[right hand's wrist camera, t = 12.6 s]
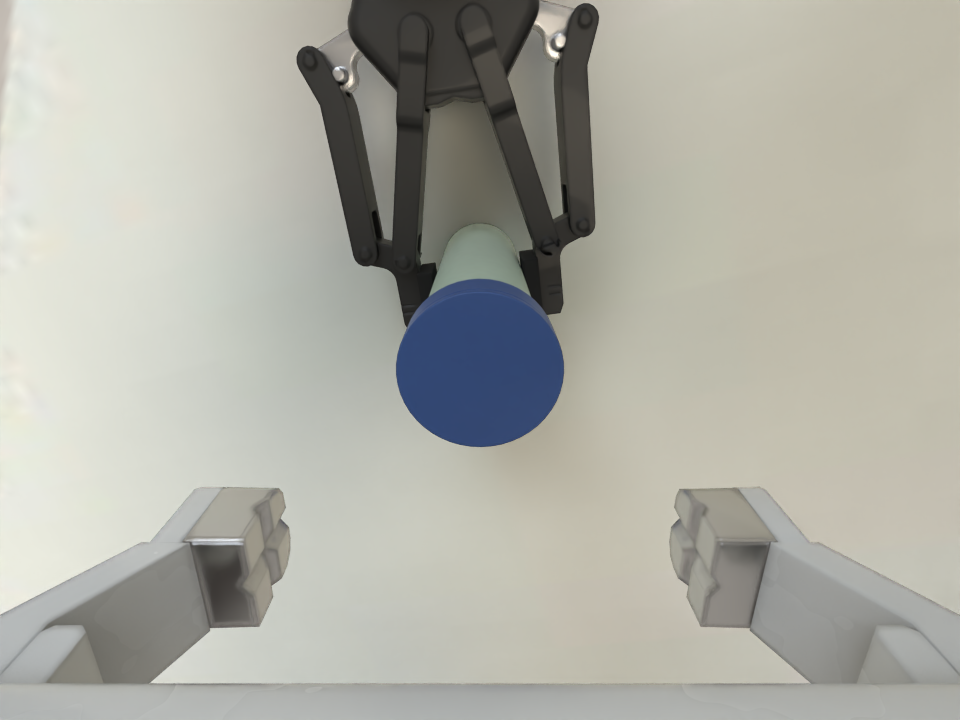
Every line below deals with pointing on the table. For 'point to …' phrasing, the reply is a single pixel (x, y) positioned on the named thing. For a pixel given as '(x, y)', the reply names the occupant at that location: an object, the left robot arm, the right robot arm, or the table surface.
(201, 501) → the right robot arm
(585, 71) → the left robot arm
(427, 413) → the lid
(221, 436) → the table surface
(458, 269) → the pale green cylinder
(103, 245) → the table surface
